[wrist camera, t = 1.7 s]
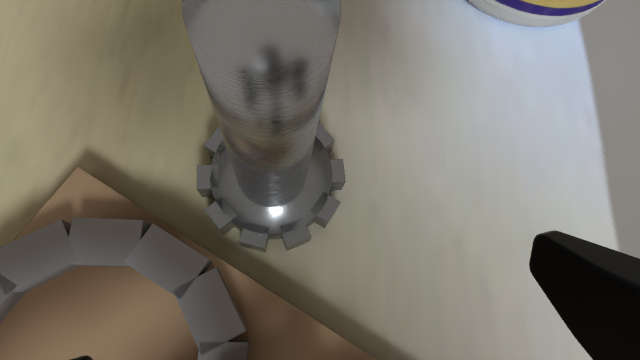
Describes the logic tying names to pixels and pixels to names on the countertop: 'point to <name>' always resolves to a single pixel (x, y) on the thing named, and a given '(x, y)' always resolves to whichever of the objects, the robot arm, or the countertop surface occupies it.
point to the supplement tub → (537, 10)
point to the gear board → (139, 291)
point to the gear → (267, 115)
